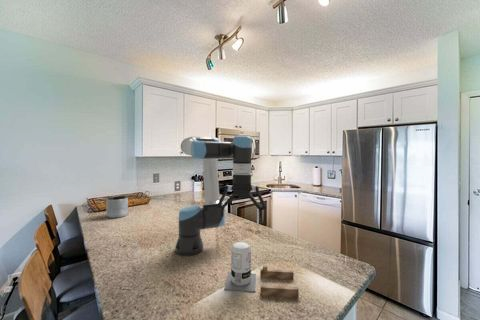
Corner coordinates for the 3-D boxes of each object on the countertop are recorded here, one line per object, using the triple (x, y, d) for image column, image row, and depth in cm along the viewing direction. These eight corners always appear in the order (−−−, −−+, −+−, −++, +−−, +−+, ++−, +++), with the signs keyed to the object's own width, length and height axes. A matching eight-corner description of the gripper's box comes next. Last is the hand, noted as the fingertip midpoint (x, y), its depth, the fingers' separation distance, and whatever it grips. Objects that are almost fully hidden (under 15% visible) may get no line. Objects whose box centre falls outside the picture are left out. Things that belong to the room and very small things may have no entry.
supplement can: (230, 275, 91) (230, 241, 91) (249, 274, 92) (249, 240, 92) (231, 287, 83) (231, 249, 83) (252, 286, 84) (252, 249, 84)
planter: (112, 219, 169) (112, 200, 169) (102, 216, 178) (102, 198, 178) (131, 215, 183) (131, 197, 182) (121, 212, 191) (121, 195, 191)
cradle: (260, 295, 79) (260, 283, 79) (260, 275, 93) (260, 265, 92) (298, 297, 78) (298, 285, 78) (292, 277, 91) (292, 266, 91)
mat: (224, 290, 82) (224, 289, 82) (228, 273, 94) (228, 272, 94) (255, 292, 81) (255, 291, 81) (255, 274, 93) (255, 273, 93)
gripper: (209, 174, 84) (209, 226, 85) (273, 175, 82) (272, 229, 82) (213, 172, 91) (213, 221, 92) (272, 173, 89) (271, 223, 90)
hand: (241, 225), depth 87 cm, fingers open, 13 cm apart
